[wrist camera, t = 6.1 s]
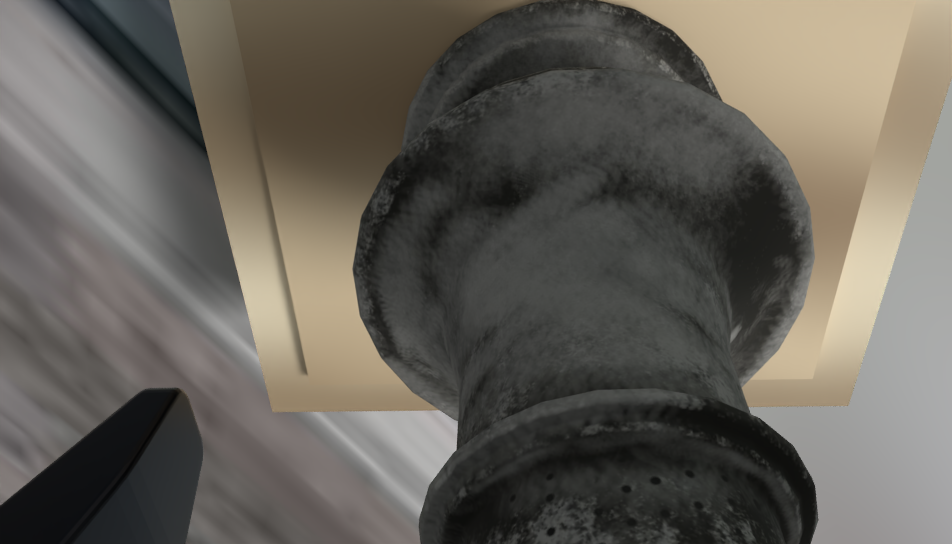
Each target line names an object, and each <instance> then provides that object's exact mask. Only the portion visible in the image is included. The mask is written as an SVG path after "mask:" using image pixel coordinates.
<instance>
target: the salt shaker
mask: <svg viewBox="0 0 952 544" xmlns="http://www.w3.org/2000/svg"><path fill="white" fill-rule="evenodd" d="M814 260H815V253H814V243H813V232H812V221H811V211H810V206H809V204H808V202H807V200H806V198H805V196H804V193H803V191H802V189H801V187H800V185H799V183H798V181H797V178H796V176H795V174H794V172H793V170H792V168H791V166H790V164H789V161H788V159H787V158H786V156H785V155H784V154H783V153H782V152H781V151H780V149H779V148H778V147H777V146H776V145H775V144H774V143H773V142H772V141H771V140H770V139H769V138H768V137H767V136H766V135H765V134H764V133H763V132H762V131H761V130H760V129H759V128H758V127H757V126H756V125H755V124H754V123H753V122H752V121H751V120H750V119H749V118H748V116H747V115H746V114H745V113H743V112H741V111H739V110H737V109H735V108H734V107H732V106H730V105H728V104H726V103H724V102H723V101H722V99H721V97H720V95H719V93H718V91H717V89H716V87H715V85H714V83H713V81H712V79H711V76H710V74H709V72H708V70H707V68H706V66H705V64H704V63H703V61H702V60H701V59H700V58H699V57H698V56H697V55H696V54H695V53H694V52H693V51H692V49H691V48H690V47H689V46H688V45H687V44H686V43H685V42H684V41H683V40H682V39H681V38H680V37H679V36H678V35H677V34H676V33H675V32H674V31H673V30H671V29H670V28H668V27H666V26H664V25H662V24H661V23H659V22H657V21H655V20H653V19H652V18H650V17H648V16H646V15H644V14H643V13H641V12H639V11H637V10H636V9H633V8H628V7H624V6H620V5H615V4H611V3H607V2H603V1H598V0H541V1H537V2H534V3H531V4H528V5H524V6H521V7H518V8H514V9H511V10H508V11H505V12H501V13H498V14H496V15H494V16H492V17H491V18H489V19H488V20H486V21H484V22H483V23H481V24H480V25H478V26H476V27H475V28H473V29H472V30H470V31H468V32H467V33H465V34H464V35H462V36H460V37H459V38H457V39H456V40H455V41H454V43H453V44H452V45H451V46H450V47H449V48H448V49H447V50H446V51H445V52H444V53H443V54H442V55H441V57H440V58H439V59H438V60H437V61H436V62H435V63H434V64H433V65H432V66H431V67H430V68H429V69H428V71H427V73H426V75H425V77H424V79H423V81H422V82H421V84H420V86H419V88H418V90H417V92H416V94H415V96H414V98H413V100H412V102H411V104H410V106H409V109H408V114H407V120H406V125H405V130H404V136H403V141H402V146H401V152H400V153H399V154H398V156H397V157H396V158H395V159H394V160H393V161H392V162H391V163H390V164H389V165H388V166H387V167H386V169H385V171H384V173H383V175H382V177H381V179H380V181H379V183H378V185H377V186H376V188H375V190H374V192H373V194H372V196H371V198H370V200H369V202H368V204H367V206H366V208H365V210H364V212H363V214H362V216H361V220H360V226H359V232H358V238H357V244H356V250H355V256H354V262H353V268H352V270H353V276H354V283H355V289H356V295H357V301H358V308H359V314H360V317H361V319H362V321H363V323H364V325H365V327H366V329H367V331H368V333H369V335H370V337H371V339H372V341H373V343H374V345H375V347H376V349H377V351H378V353H379V355H380V357H381V358H382V360H383V361H384V362H385V363H386V364H387V365H388V366H389V367H390V368H391V369H392V370H393V372H394V373H395V374H396V375H397V376H398V377H399V378H400V379H401V380H402V381H403V382H404V383H405V385H406V386H407V387H408V388H409V389H410V390H411V391H412V392H413V393H414V394H416V395H418V396H419V397H421V398H422V399H424V400H425V401H427V402H428V403H430V404H431V405H433V406H434V407H436V408H437V409H439V410H440V411H442V412H443V413H445V414H446V415H448V416H449V417H451V418H452V419H454V420H456V421H458V434H457V451H455V452H454V453H453V454H452V456H451V457H450V458H449V460H448V461H447V462H446V464H445V465H444V466H443V468H442V469H441V470H440V472H439V473H438V474H437V476H436V477H435V478H434V480H433V481H432V482H431V484H430V485H429V488H428V492H427V495H426V498H425V502H424V505H423V508H422V512H421V515H420V519H419V533H420V541H421V544H811V541H812V537H813V534H814V531H815V528H816V525H817V522H818V512H817V502H816V491H815V485H814V482H813V480H812V477H811V476H810V474H809V472H808V470H807V469H806V467H805V465H804V464H803V462H802V460H801V458H800V457H799V455H798V453H797V451H796V450H795V448H794V446H793V445H792V444H791V443H789V442H788V441H787V440H785V439H784V438H783V437H782V436H781V435H780V434H778V433H777V432H776V431H775V430H773V429H772V428H771V427H770V426H768V425H767V424H766V423H765V422H764V421H762V420H761V419H760V418H758V417H756V416H753V415H751V414H750V411H749V408H748V405H747V402H746V399H745V396H744V393H743V391H742V387H743V386H744V385H745V384H746V383H747V382H748V381H749V380H750V379H751V378H752V377H753V376H754V375H755V374H756V373H757V372H758V371H759V370H760V369H761V368H762V367H763V366H764V364H765V363H766V362H767V361H768V360H769V359H770V358H771V357H772V356H773V355H774V354H775V353H776V352H777V351H778V350H779V348H780V347H781V345H782V343H783V342H784V340H785V338H786V336H787V335H788V333H789V331H790V329H791V328H792V326H793V324H794V322H795V321H796V319H797V317H798V316H799V314H800V312H801V310H802V309H803V307H804V303H805V298H806V294H807V290H808V286H809V282H810V277H811V273H812V269H813V265H814Z"/></svg>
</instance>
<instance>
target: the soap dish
mask: <svg viewBox="0 0 952 544" xmlns="http://www.w3.org/2000/svg"><path fill="white" fill-rule="evenodd" d="M537 1H541V0H169V2H170V6H171V10H172V14H173V18H174V22H175V26H176V30H177V34H178V38H179V42H180V46H181V50H182V54H183V58H184V62H185V66H186V70H187V73H188V77H189V81H190V85H191V89H192V93H193V97H194V101H195V105H196V109H197V113H198V117H199V121H200V125H201V129H202V133H203V137H204V141H205V145H206V149H207V153H208V157H209V161H210V165H211V169H212V173H213V177H214V181H215V185H216V189H217V193H218V197H219V201H220V205H221V209H222V213H223V217H224V221H225V225H226V229H227V233H228V237H229V241H230V245H231V249H232V253H233V257H234V261H235V265H236V269H237V272H238V276H239V280H240V284H241V288H242V292H243V296H244V300H245V304H246V308H247V312H248V316H249V320H250V324H251V328H252V332H253V336H254V340H255V344H256V348H257V352H258V356H259V360H260V364H261V368H262V372H263V376H264V380H265V384H266V388H267V392H268V396H269V400H270V404H271V408H272V412H328V411H420V410H439V409H437V408H436V407H434V406H433V405H431V404H430V403H428V402H427V401H425V400H424V399H422V398H421V397H419V396H418V395H416V394H414V393H413V392H412V391H411V390H410V389H409V388H408V387H407V386H406V385H405V383H404V382H403V381H402V380H401V379H400V378H399V377H398V376H397V375H396V374H395V373H394V372H393V370H392V369H391V368H390V367H389V366H388V365H387V364H386V363H385V362H384V361H383V360H382V358H381V357H380V355H379V353H378V351H377V349H376V347H375V345H374V343H373V341H372V339H371V337H370V335H369V333H368V331H367V329H366V327H365V325H364V323H363V321H362V319H361V317H360V314H359V308H358V301H357V295H356V289H355V283H354V276H353V270H352V268H353V262H354V256H355V250H356V244H357V238H358V232H359V226H360V220H361V216H362V214H363V212H364V210H365V208H366V206H367V204H368V202H369V200H370V198H371V196H372V194H373V192H374V190H375V188H376V186H377V185H378V183H379V181H380V179H381V177H382V175H383V173H384V171H385V169H386V167H387V166H388V165H389V164H390V163H391V162H392V161H393V160H394V159H395V158H396V157H397V156H398V154H399V153H400V152H401V146H402V141H403V136H404V130H405V125H406V120H407V114H408V109H409V106H410V104H411V102H412V100H413V98H414V96H415V94H416V92H417V90H418V88H419V86H420V84H421V82H422V81H423V79H424V77H425V75H426V73H427V71H428V69H429V68H430V67H431V66H432V65H433V64H434V63H435V62H436V61H437V60H438V59H439V58H440V57H441V55H442V54H443V53H444V52H445V51H446V50H447V49H448V48H449V47H450V46H451V45H452V44H453V43H454V41H455V40H456V39H457V38H459V37H460V36H462V35H464V34H465V33H467V32H468V31H470V30H472V29H473V28H475V27H476V26H478V25H480V24H481V23H483V22H484V21H486V20H488V19H489V18H491V17H492V16H494V15H496V14H498V13H501V12H505V11H508V10H511V9H514V8H518V7H521V6H524V5H528V4H531V3H534V2H537ZM598 1H603V2H607V3H611V4H615V5H620V6H624V7H628V8H633V9H636V10H637V11H639V12H641V13H643V14H644V15H646V16H648V17H650V18H652V19H653V20H655V21H657V22H659V23H661V24H662V25H664V26H666V27H668V28H670V29H671V30H673V31H674V32H675V33H676V34H677V35H678V36H679V37H680V38H681V39H682V40H683V41H684V42H685V43H686V44H687V45H688V46H689V47H690V48H691V49H692V51H693V52H694V53H695V54H696V55H697V56H698V57H699V58H700V59H701V60H702V61H703V63H704V64H705V66H706V68H707V70H708V72H709V74H710V76H711V79H712V81H713V83H714V85H715V87H716V89H717V91H718V93H719V95H720V97H721V99H722V101H723V102H724V103H726V104H728V105H730V106H732V107H734V108H735V109H737V110H739V111H741V112H743V113H745V114H746V115H747V116H748V118H749V119H750V120H751V121H752V122H753V123H754V124H755V125H756V126H757V127H758V128H759V129H760V130H761V131H762V132H763V133H764V134H765V135H766V136H767V137H768V138H769V139H770V140H771V141H772V142H773V143H774V144H775V145H776V146H777V147H778V148H779V149H780V151H781V152H782V153H783V154H784V155H785V156H786V158H787V159H788V161H789V164H790V166H791V168H792V170H793V172H794V174H795V176H796V178H797V181H798V183H799V185H800V187H801V189H802V191H803V193H804V196H805V198H806V200H807V202H808V204H809V206H810V211H811V221H812V232H813V243H814V253H815V260H814V265H813V269H812V273H811V277H810V282H809V286H808V290H807V294H806V298H805V303H804V307H803V309H802V310H801V312H800V314H799V316H798V317H797V319H796V321H795V322H794V324H793V326H792V328H791V329H790V331H789V333H788V335H787V336H786V338H785V340H784V342H783V343H782V345H781V347H780V348H779V350H778V351H777V352H776V353H775V354H774V355H773V356H772V357H771V358H770V359H769V360H768V361H767V362H766V363H765V364H764V366H763V367H762V368H761V369H760V370H759V371H758V372H757V373H756V374H755V375H754V376H753V377H752V378H751V379H750V380H749V381H748V382H747V383H746V384H745V385H744V386H743V387H742V391H743V393H744V396H745V399H746V402H747V405H748V407H782V406H783V407H786V406H787V407H789V406H848V405H849V401H850V399H851V395H852V392H853V389H854V386H855V383H856V380H857V376H858V373H859V370H860V367H861V364H862V361H863V358H864V354H865V351H866V348H867V345H868V342H869V339H870V335H871V332H872V329H873V326H874V323H875V320H876V316H877V313H878V310H879V307H880V304H881V301H882V297H883V294H884V291H885V288H886V284H887V281H888V278H889V275H890V272H891V269H892V266H893V262H894V259H895V256H896V253H897V250H898V247H899V243H900V240H901V237H902V234H903V231H904V228H905V224H906V221H907V218H908V215H909V211H910V208H911V206H912V202H913V199H914V196H915V193H916V190H917V186H918V183H919V180H920V177H921V174H922V170H923V167H924V164H925V161H926V158H927V155H928V152H929V148H930V145H931V142H932V139H933V135H934V132H935V129H936V126H937V123H938V120H939V117H940V114H941V110H942V107H943V104H944V101H945V97H946V95H947V91H948V88H949V85H950V82H951V78H952V0H598Z"/></svg>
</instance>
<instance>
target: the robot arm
mask: <svg viewBox="0 0 952 544" xmlns="http://www.w3.org/2000/svg"><path fill="white" fill-rule="evenodd" d="M202 461H203V442H202V438H201V435H200V432H199V429H198V426H197V422H196V419H195V416H194V413H193V410H192V407H191V404H190V401H189V398H188V396H187V394H186V393H185V392H184V391H183V390H182V389H179V388H148V389H144V390H142V391H141V392H139V393H138V394H136V395H135V396H134V397H133V398H132V399H130V400H129V401H128V402H127V403H125V404H124V405H123V406H122V407H121V408H119V409H118V410H117V411H116V412H114V413H113V414H112V415H111V416H109V417H108V418H107V419H106V420H105V421H103V422H102V423H101V424H100V425H98V426H97V427H96V428H95V429H94V430H92V431H91V432H90V433H89V434H87V435H86V436H85V437H84V438H83V439H81V440H80V441H79V442H78V443H76V444H75V445H74V446H73V447H71V448H70V449H69V450H68V451H67V452H65V453H64V454H63V455H62V456H60V457H59V458H58V459H57V460H56V461H54V462H53V463H52V464H51V465H49V466H48V467H47V468H46V469H45V470H43V471H42V472H41V473H40V474H38V475H37V476H36V477H35V478H33V479H32V480H31V481H30V482H29V483H27V484H26V485H25V486H24V487H22V488H21V489H20V490H19V491H18V492H16V493H15V494H14V495H13V496H11V497H10V498H9V499H8V500H7V501H5V502H4V503H3V504H2V505H0V544H186V539H187V534H188V529H189V524H190V519H191V515H192V510H193V505H194V500H195V495H196V490H197V486H198V481H199V476H200V471H201V466H202Z"/></svg>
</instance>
